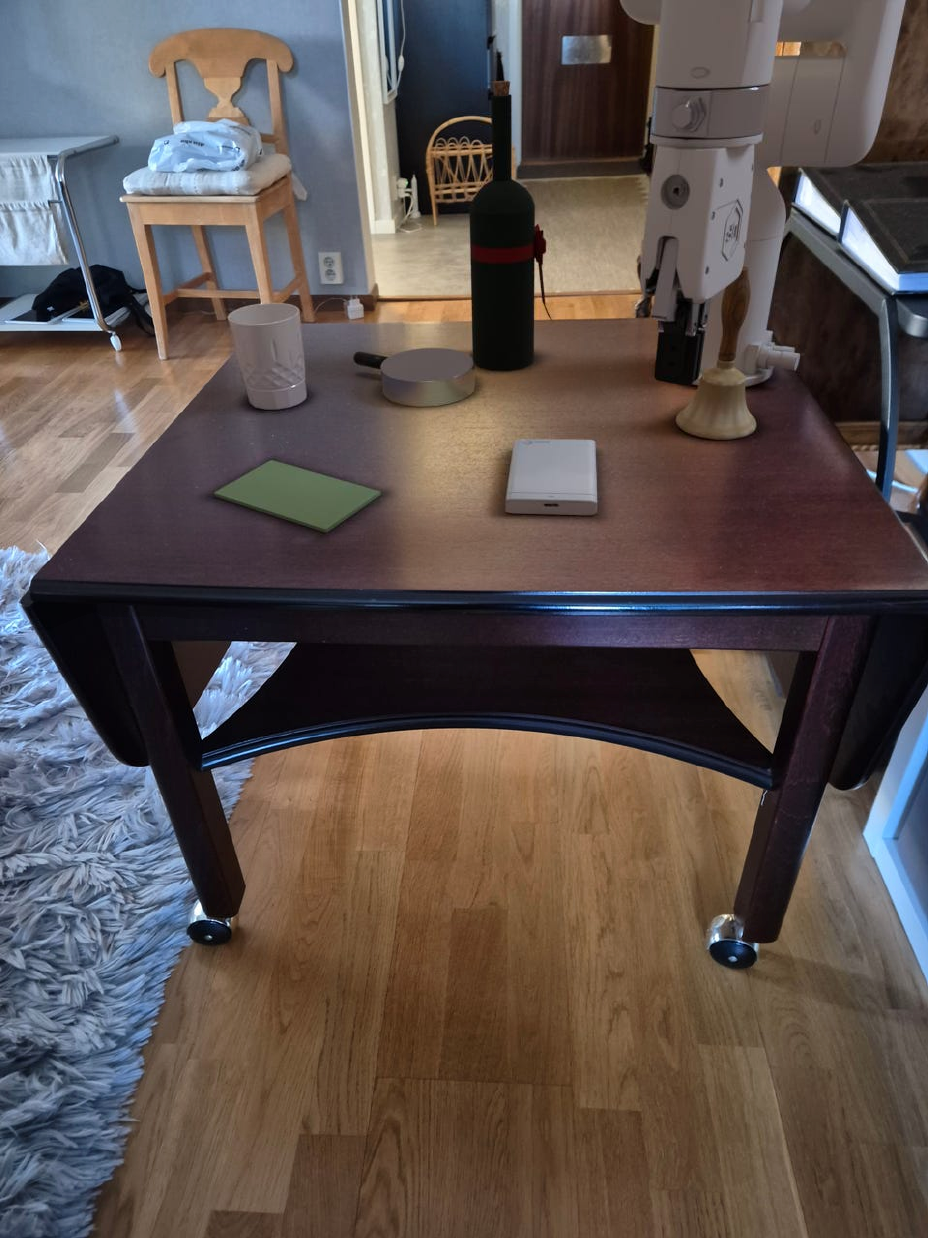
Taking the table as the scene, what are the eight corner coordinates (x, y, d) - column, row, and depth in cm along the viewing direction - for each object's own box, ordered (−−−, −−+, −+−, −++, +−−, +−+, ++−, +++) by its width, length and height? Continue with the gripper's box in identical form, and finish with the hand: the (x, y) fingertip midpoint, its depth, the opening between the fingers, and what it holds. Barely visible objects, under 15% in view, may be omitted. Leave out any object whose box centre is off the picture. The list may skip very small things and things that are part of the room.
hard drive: (513, 438, 85) (505, 497, 75) (595, 439, 84) (597, 499, 74) (513, 453, 86) (505, 513, 76) (594, 454, 85) (596, 515, 75)
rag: (381, 495, 80) (380, 491, 80) (326, 533, 75) (325, 529, 74) (271, 463, 86) (271, 459, 86) (214, 496, 81) (213, 492, 81)
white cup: (319, 386, 103) (307, 302, 97) (302, 412, 96) (288, 324, 90) (256, 386, 103) (240, 302, 97) (236, 412, 97) (217, 324, 91)
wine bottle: (557, 367, 105) (567, 81, 87) (476, 373, 104) (468, 86, 86) (545, 345, 111) (551, 75, 93) (469, 351, 110) (460, 80, 92)
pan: (492, 380, 102) (491, 356, 100) (441, 413, 95) (440, 387, 93) (383, 358, 109) (380, 335, 108) (328, 387, 102) (324, 363, 100)
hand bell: (770, 421, 90) (800, 263, 80) (731, 447, 85) (758, 283, 76) (701, 402, 95) (722, 250, 85) (660, 426, 90) (678, 269, 80)
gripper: (725, 132, 51) (687, 421, 61) (794, 107, 61) (750, 359, 71) (610, 127, 54) (593, 402, 65) (693, 105, 64) (666, 346, 75)
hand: (676, 379), depth 68 cm, fingers closed
